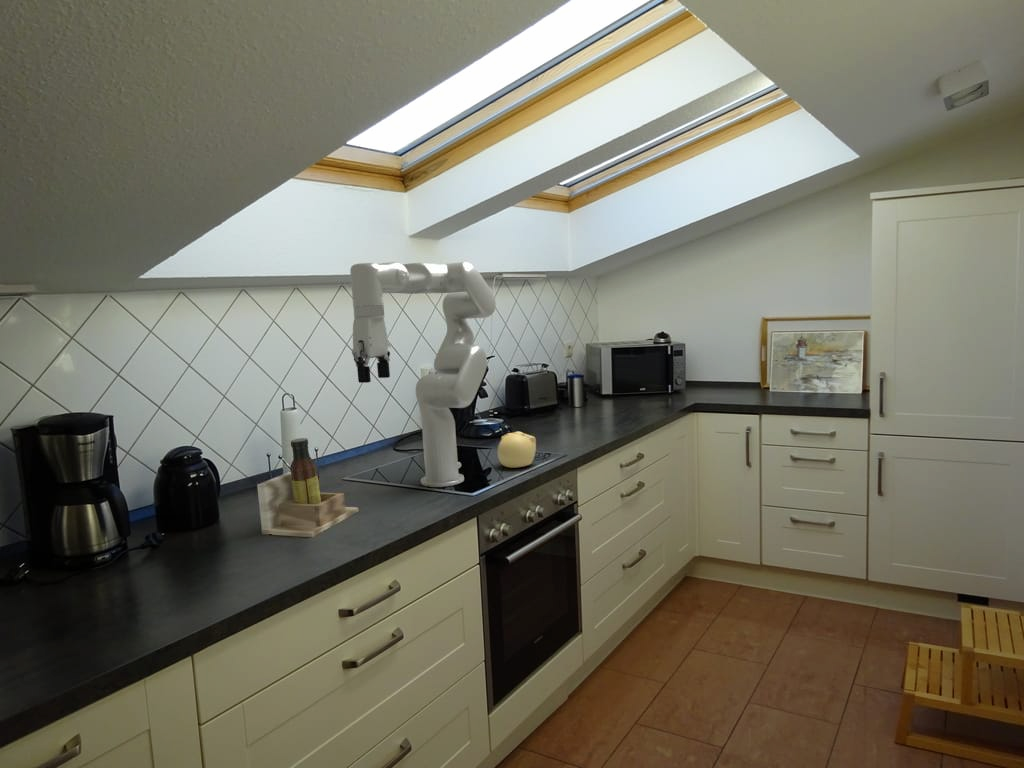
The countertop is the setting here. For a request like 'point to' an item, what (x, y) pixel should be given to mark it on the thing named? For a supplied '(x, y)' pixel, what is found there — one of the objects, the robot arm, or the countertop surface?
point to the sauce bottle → (304, 474)
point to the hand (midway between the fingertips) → (374, 379)
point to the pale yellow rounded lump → (516, 449)
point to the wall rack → (298, 510)
